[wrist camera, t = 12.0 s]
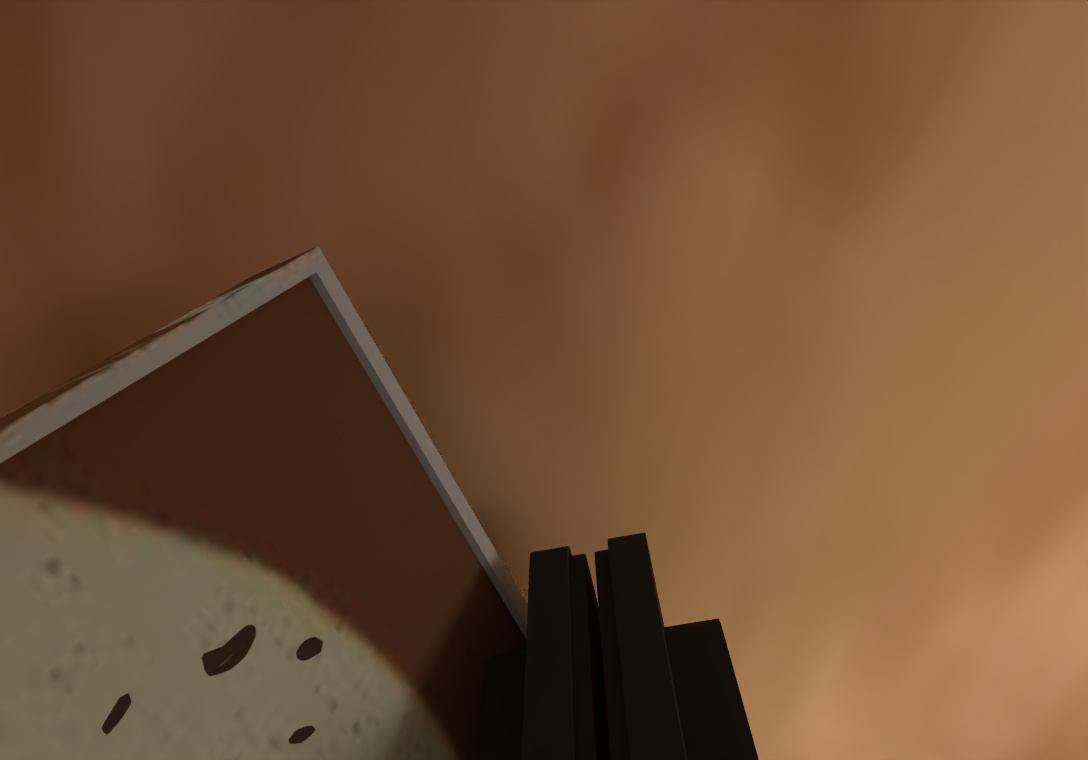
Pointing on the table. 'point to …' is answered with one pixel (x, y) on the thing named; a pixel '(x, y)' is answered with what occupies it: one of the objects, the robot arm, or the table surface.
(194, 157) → the table surface
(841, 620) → the table surface
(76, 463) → the food container
